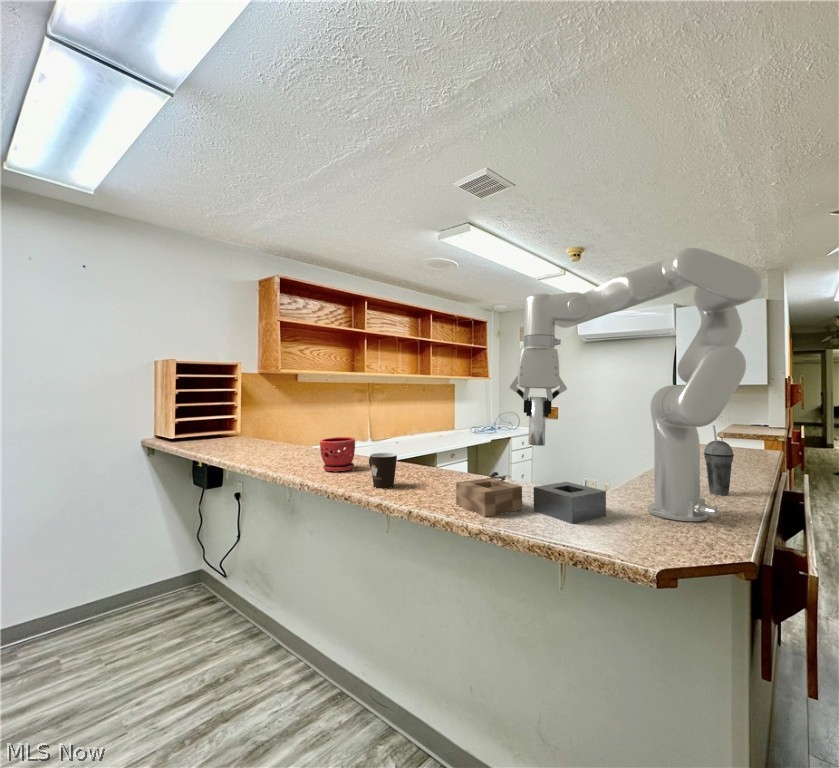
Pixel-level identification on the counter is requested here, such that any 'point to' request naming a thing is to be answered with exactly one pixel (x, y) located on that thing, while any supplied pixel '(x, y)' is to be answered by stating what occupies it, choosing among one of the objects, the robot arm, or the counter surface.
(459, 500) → the block
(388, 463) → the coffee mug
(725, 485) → the beverage cup
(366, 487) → the counter surface
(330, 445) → the plant pot
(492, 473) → the hacksaw
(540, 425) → the silver metal cylinder
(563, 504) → the socket block
